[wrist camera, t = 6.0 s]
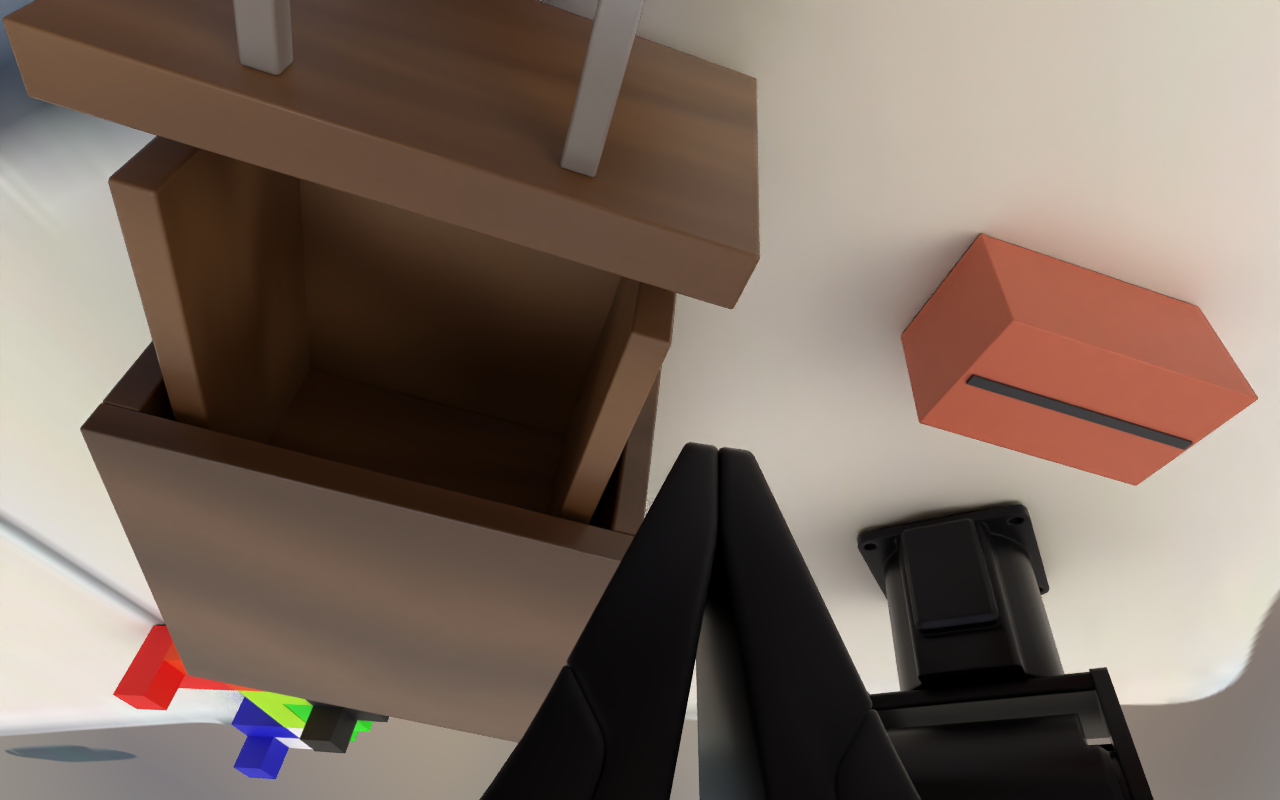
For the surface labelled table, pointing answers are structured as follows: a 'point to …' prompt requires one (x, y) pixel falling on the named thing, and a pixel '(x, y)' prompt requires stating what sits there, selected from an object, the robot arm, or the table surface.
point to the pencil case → (1068, 364)
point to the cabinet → (356, 567)
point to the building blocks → (244, 709)
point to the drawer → (414, 220)
